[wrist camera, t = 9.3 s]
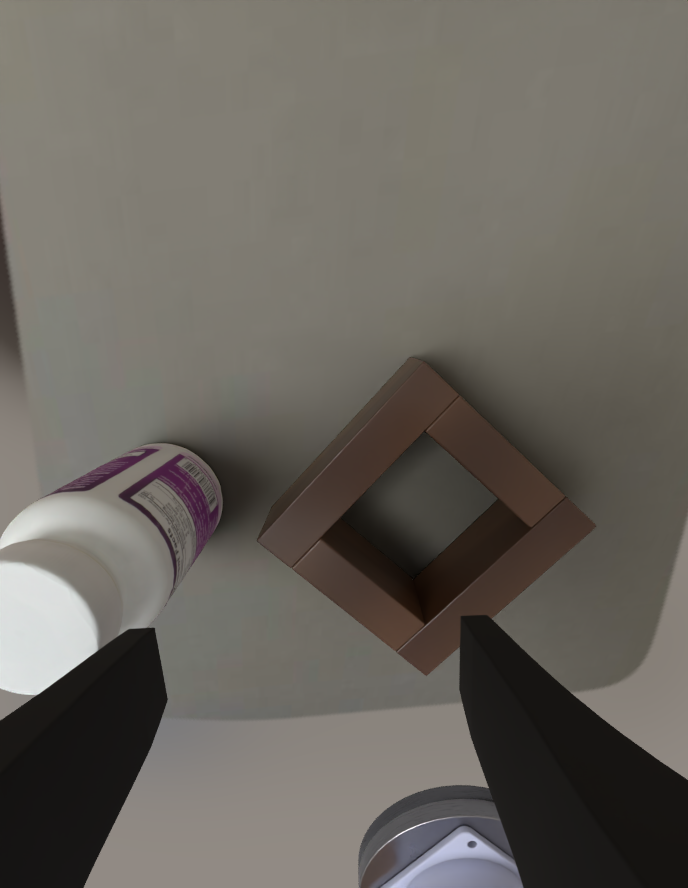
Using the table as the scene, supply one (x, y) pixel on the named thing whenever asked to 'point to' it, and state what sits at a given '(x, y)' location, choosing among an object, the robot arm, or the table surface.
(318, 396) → the table surface
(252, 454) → the table surface
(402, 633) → the frame
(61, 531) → the pill bottle
